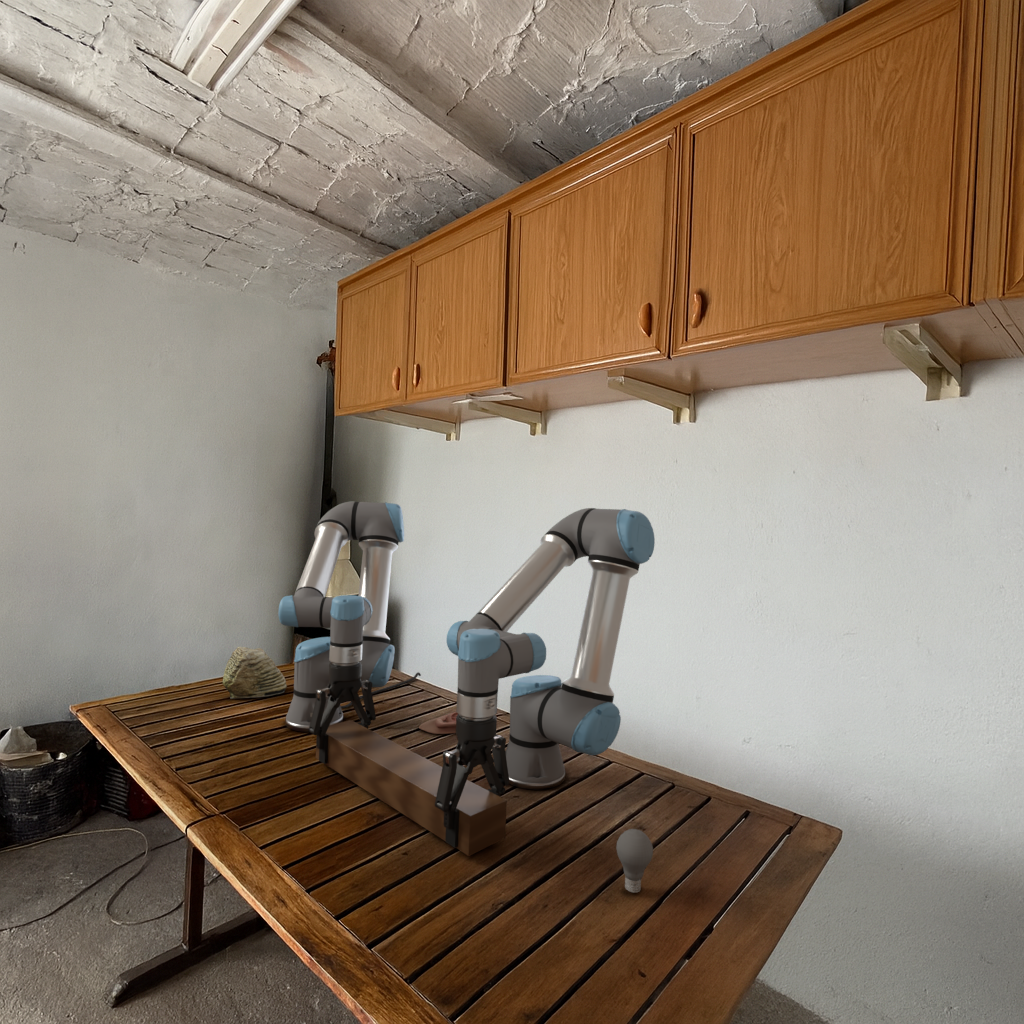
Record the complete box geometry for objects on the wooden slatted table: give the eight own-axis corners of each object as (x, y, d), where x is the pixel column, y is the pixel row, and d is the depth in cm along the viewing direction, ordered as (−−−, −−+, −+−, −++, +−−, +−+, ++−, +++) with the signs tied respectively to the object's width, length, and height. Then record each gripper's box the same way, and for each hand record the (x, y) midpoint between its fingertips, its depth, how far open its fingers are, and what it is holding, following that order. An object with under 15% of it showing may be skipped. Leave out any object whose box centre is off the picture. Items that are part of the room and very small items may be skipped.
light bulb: (610, 879, 108) (613, 822, 108) (644, 879, 109) (647, 822, 109) (619, 902, 102) (622, 840, 102) (655, 901, 103) (658, 840, 103)
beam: (315, 758, 150) (316, 728, 150) (349, 748, 156) (350, 719, 156) (468, 856, 111) (470, 816, 111) (505, 838, 118) (506, 800, 118)
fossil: (218, 695, 195) (220, 647, 195) (278, 685, 208) (279, 640, 207) (228, 703, 189) (230, 653, 188) (289, 692, 201) (290, 645, 201)
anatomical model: (415, 716, 173) (429, 704, 184) (414, 731, 173) (428, 717, 184) (462, 722, 170) (473, 709, 181) (461, 737, 170) (472, 722, 181)
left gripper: (310, 673, 139) (306, 774, 140) (393, 658, 155) (390, 749, 155) (294, 665, 144) (290, 763, 145) (376, 652, 160) (373, 740, 160)
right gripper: (443, 734, 107) (438, 865, 107) (531, 707, 122) (527, 822, 123) (416, 721, 112) (412, 847, 112) (504, 697, 128) (500, 808, 128)
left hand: (342, 756), depth 150 cm, fingers closed on beam, 9 cm apart
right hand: (472, 834), depth 118 cm, fingers closed on beam, 9 cm apart
